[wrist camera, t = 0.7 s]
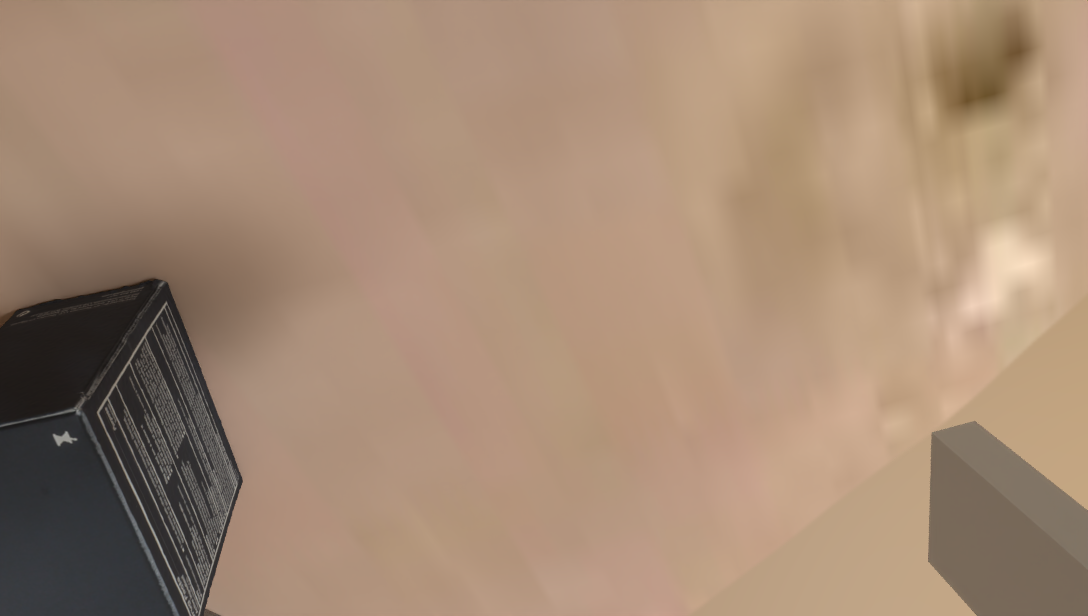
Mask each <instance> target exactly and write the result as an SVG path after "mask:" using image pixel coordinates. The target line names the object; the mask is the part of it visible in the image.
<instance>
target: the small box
mask: <svg viewBox="0 0 1088 616" xmlns="http://www.w3.org/2000/svg"><path fill="white" fill-rule="evenodd" d="M242 482H243V480H242V477H241V475H240V472H239V470H238V467H237V464H236V461H235V458H234V456H233V453H232V450H231V448H230V445H229V443H228V440H227V437H226V435H225V432H224V429H223V426H222V424H221V420H220V418H219V416H218V414H217V411H216V408H215V406H214V403H213V400H212V398H211V395H210V393H209V390H208V387H207V385H206V382H205V379H204V377H203V374H202V372H201V368H200V366H199V363H198V361H197V358H196V356H195V353H194V350H193V348H192V345H191V343H190V340H189V337H188V335H187V332H186V329H185V327H184V324H183V322H182V319H181V317H180V314H179V312H178V309H177V307H176V304H175V302H174V299H173V297H172V294H171V292H170V289H169V285H168V283H167V282H165V281H162V280H157V279H156V280H154V281H146V282H143V283H140V284H139V285H136V286H131V287H128V286H125V287H123V288H121V289H116V290H112V291H107V292H100V293H98V294H92V295H88V296H79V297H77V298H73V299H67V300H54V301H50V302H47V303H43V304H39V305H36V306H33V307H30V308H25V309H20V310H18V311H16V312H15V313H14V314H13V316H12V317H11V318H10V319H9V320H8V321H7V322H6V323H5V324H4V325H3V326H2V327H1V328H0V616H204V611H205V607H206V604H207V599H208V597H209V591H210V588H211V585H212V581H213V578H214V576H215V572H216V568H217V564H218V560H219V557H220V554H221V550H222V547H223V543H224V540H225V536H226V533H227V528H228V525H229V523H230V519H231V516H232V511H233V509H234V506H235V503H236V500H237V497H238V494H239V490H240V488H241V485H242Z"/></svg>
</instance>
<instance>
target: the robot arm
mask: <svg viewBox="0 0 1088 616" xmlns="http://www.w3.org/2000/svg"><path fill="white" fill-rule="evenodd" d="M931 443H932V445H931V479H930V515H929V553H928V562H930V564H931V565H932V566H933V567H934V568H935V569H936V570H937V571H938V573H939V574H940V575H941V576H942V577H943V578H944V579H945V580H946V582H947V583H948V584H949V585H950V586H951V587H952V588H953V589H954V590H955V592H957V594H958V595H959V596H960V597H961V598H962V599H963V600H964V602H965V603H966V604H967V605H968V606H969V607H970V608H971V609H972V611H973V612H974V613H975V614H976V615H977V616H1088V510H1086V509H1085V508H1084V507H1083V506H1081V505H1080V504H1079V503H1077V502H1076V501H1075V500H1074V499H1073V498H1071V497H1070V496H1069V495H1068V494H1066V493H1065V492H1064V491H1062V490H1061V489H1060V488H1059V487H1057V486H1056V485H1055V484H1054V483H1052V482H1051V481H1050V480H1048V479H1047V478H1046V477H1045V476H1044V475H1042V474H1041V473H1040V472H1039V471H1037V470H1036V469H1035V468H1034V467H1032V466H1031V465H1030V464H1028V463H1027V462H1026V461H1025V460H1023V459H1022V458H1021V457H1020V456H1018V455H1017V454H1016V453H1015V452H1013V451H1012V450H1011V449H1010V448H1008V447H1007V446H1006V445H1005V444H1003V443H1002V442H1001V441H1000V440H998V439H997V438H996V437H994V436H993V435H992V434H991V433H989V432H988V431H987V430H986V429H984V428H983V427H982V426H981V425H979V424H978V423H977V422H976V421H973V422H969V423H966V424H962V425H958V426H954V427H951V428H947V429H943V430H940V431H936V432H932V442H931Z"/></svg>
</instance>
